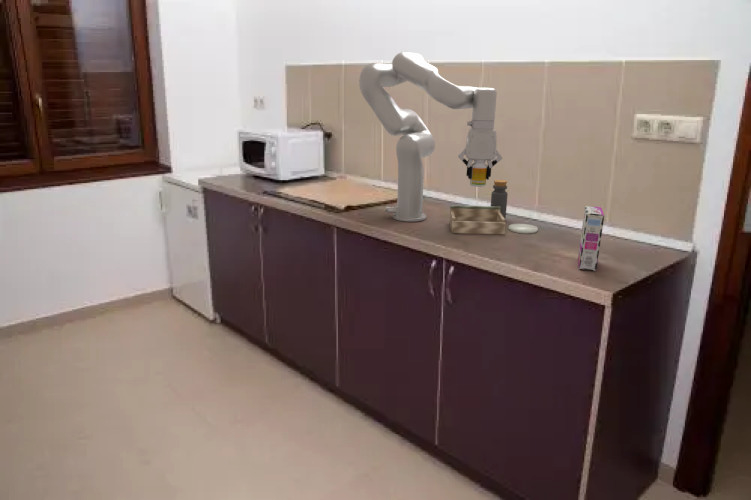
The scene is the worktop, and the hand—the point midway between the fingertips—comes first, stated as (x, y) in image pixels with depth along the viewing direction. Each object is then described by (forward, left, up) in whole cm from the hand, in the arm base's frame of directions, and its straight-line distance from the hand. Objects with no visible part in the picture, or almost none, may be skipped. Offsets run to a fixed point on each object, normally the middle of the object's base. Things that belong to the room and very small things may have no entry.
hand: (478, 178), depth 202 cm
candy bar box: (+28, -39, -18) cm, 51 cm away
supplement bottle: (0, 0, -3) cm, 3 cm away
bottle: (+10, +13, -18) cm, 25 cm away
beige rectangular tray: (0, 0, -18) cm, 18 cm away
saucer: (+17, 0, -18) cm, 25 cm away
